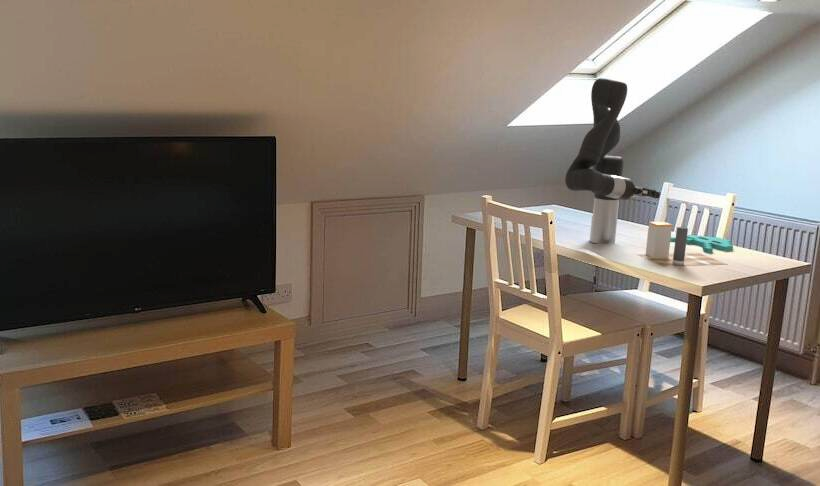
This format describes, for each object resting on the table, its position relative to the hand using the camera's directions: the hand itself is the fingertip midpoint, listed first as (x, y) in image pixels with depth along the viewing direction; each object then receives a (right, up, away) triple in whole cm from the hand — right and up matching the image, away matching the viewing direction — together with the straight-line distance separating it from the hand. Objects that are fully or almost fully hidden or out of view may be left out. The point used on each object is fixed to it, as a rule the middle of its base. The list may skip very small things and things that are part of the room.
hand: (649, 194), depth 283 cm
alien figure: (+31, -18, +33) cm, 49 cm away
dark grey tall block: (+8, -24, -6) cm, 26 cm away
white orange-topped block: (+4, -21, +5) cm, 22 cm away
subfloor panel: (+12, -24, +2) cm, 27 cm away
